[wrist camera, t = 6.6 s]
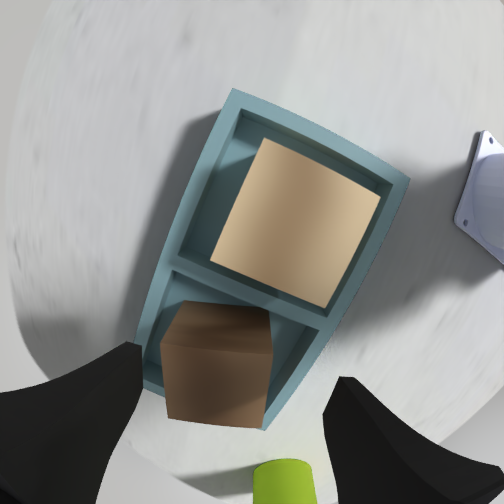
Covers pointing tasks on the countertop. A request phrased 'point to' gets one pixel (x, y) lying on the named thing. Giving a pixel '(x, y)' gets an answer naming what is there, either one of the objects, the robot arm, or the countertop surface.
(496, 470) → the robot arm
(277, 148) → the oak twin block
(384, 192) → the caddy
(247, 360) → the walnut block
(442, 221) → the countertop surface
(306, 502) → the soap dispenser
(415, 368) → the countertop surface
